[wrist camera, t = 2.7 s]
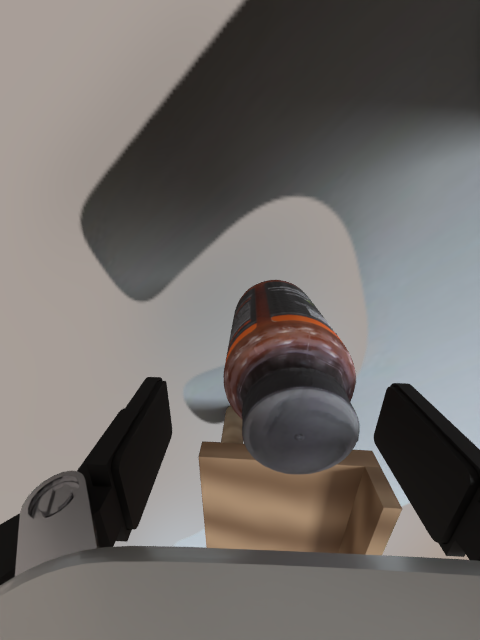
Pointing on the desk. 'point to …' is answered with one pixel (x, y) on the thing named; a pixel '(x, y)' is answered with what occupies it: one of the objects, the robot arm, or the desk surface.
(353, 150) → the desk surface
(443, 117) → the desk surface
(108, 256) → the desk surface
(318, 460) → the supplement bottle
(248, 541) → the peg shelf
